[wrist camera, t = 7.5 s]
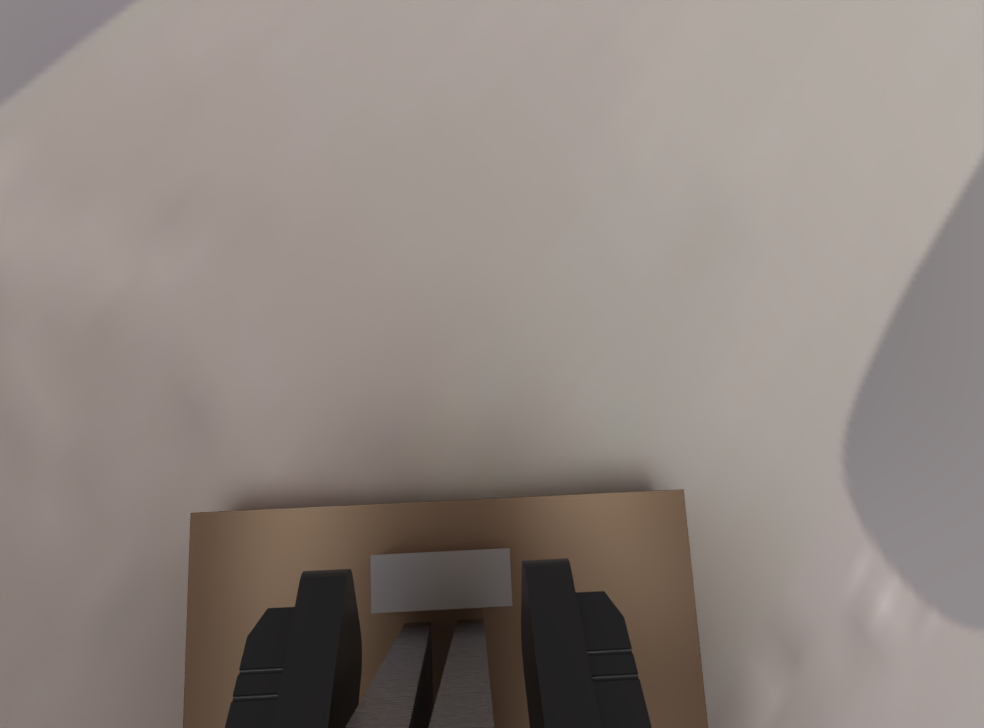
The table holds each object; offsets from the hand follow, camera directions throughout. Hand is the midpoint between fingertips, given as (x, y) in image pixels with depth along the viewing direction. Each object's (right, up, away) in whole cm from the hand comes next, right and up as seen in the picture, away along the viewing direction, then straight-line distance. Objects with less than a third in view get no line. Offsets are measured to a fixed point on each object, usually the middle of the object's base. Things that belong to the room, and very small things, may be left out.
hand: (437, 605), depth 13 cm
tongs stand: (0, -4, +9) cm, 10 cm away
